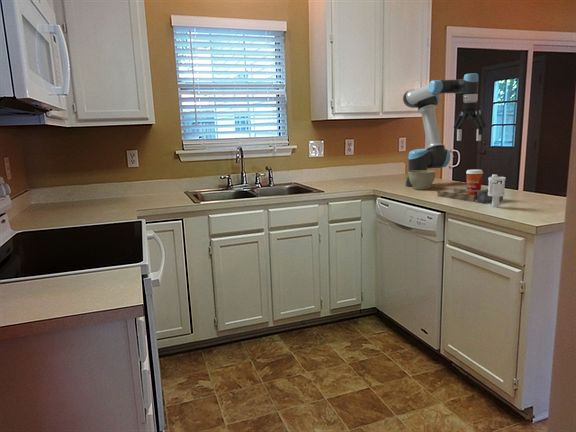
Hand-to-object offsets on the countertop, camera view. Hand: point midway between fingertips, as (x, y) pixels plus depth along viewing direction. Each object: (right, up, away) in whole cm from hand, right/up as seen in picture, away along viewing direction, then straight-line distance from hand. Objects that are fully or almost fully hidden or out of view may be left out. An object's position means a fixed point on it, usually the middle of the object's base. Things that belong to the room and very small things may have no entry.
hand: (468, 140), depth 244 cm
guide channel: (-8, -33, -18) cm, 39 cm away
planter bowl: (-21, -26, +21) cm, 39 cm away
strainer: (-6, -39, -44) cm, 59 cm away
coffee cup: (-6, -34, -21) cm, 41 cm away
